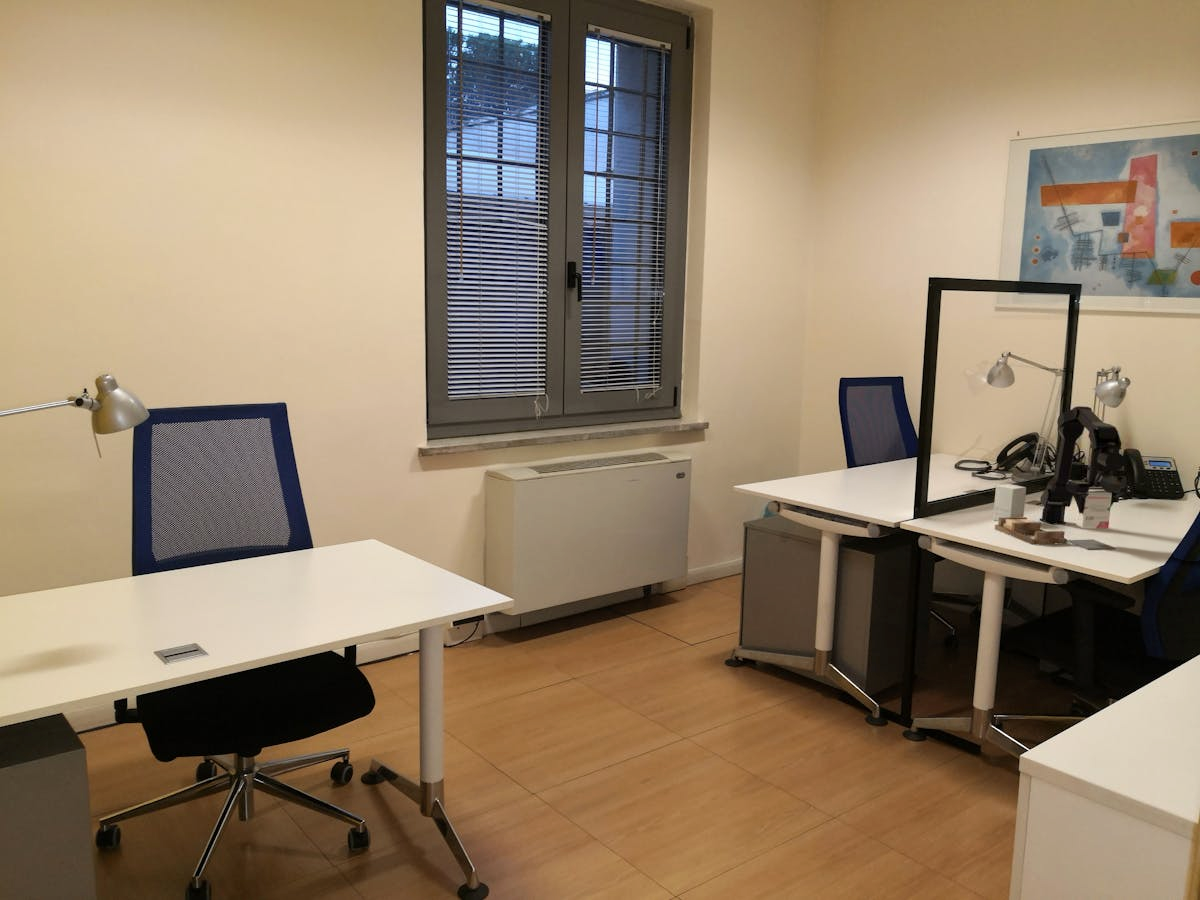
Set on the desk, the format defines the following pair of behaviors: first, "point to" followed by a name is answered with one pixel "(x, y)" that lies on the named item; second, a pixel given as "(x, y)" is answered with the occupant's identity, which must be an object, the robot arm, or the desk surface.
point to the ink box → (1095, 510)
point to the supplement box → (1009, 501)
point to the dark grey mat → (1090, 544)
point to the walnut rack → (1029, 531)
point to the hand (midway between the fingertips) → (1093, 512)
